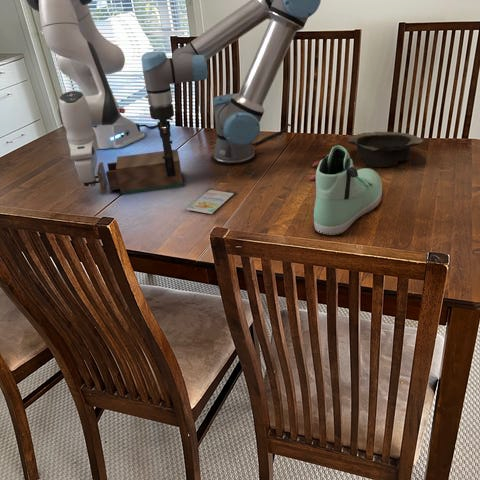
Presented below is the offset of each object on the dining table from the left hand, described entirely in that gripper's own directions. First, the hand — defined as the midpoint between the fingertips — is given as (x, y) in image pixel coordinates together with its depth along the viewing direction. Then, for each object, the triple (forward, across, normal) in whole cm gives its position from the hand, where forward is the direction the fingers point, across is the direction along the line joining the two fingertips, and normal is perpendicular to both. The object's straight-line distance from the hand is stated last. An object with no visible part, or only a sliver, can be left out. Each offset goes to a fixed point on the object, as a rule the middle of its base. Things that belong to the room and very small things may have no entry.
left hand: (93, 184), depth 160 cm
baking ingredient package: (+3, +21, +37) cm, 42 cm away
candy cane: (+3, +10, +75) cm, 75 cm away
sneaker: (+3, +38, +75) cm, 84 cm away
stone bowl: (+3, +6, +100) cm, 100 cm away
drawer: (+2, 0, +10) cm, 10 cm away
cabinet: (+3, 0, +19) cm, 19 cm away
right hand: (-2, 0, +26) cm, 26 cm away
